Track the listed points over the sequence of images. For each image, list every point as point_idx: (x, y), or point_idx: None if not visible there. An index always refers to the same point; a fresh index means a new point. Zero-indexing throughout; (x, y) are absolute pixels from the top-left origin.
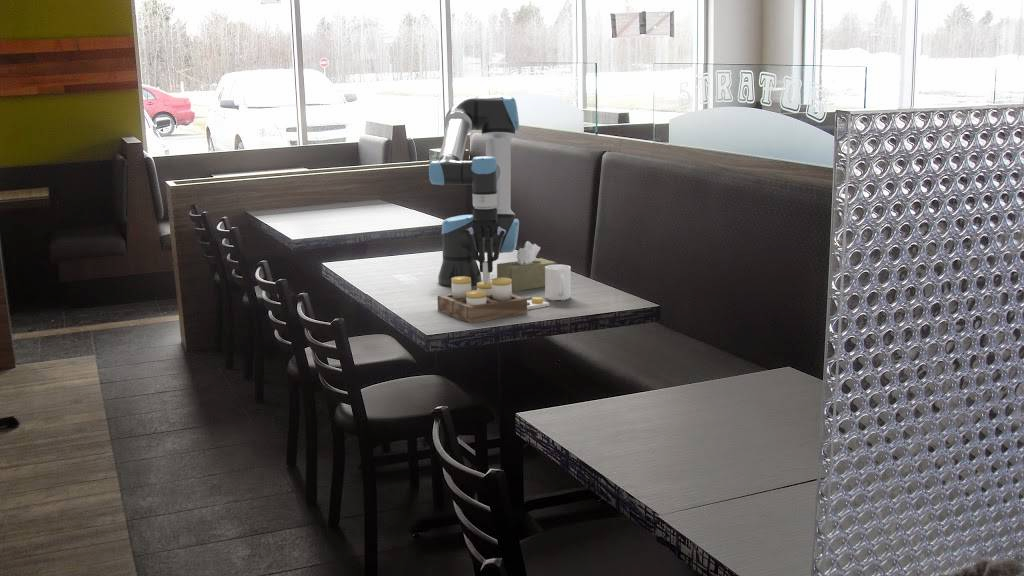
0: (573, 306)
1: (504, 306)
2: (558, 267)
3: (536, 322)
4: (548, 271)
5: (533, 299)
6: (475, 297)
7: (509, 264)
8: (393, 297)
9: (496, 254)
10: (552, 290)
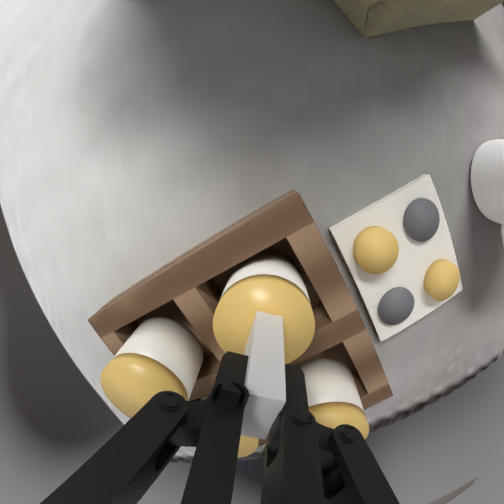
0: (496, 291)
1: None
2: None
3: (372, 426)
4: None
5: (431, 295)
6: None
7: None
8: (11, 137)
9: (336, 492)
10: (500, 219)
